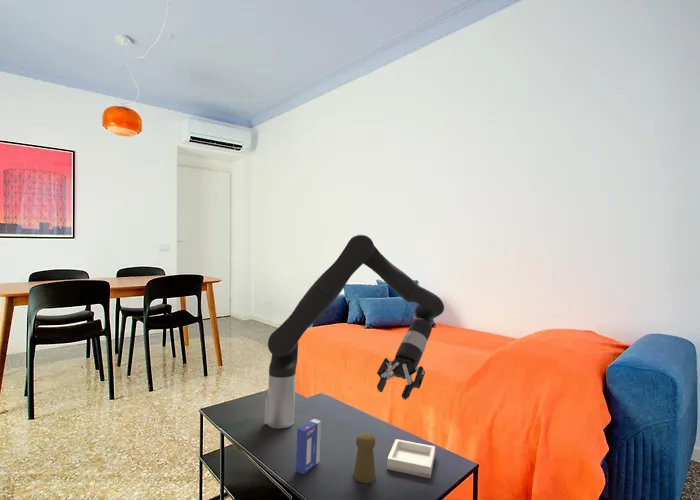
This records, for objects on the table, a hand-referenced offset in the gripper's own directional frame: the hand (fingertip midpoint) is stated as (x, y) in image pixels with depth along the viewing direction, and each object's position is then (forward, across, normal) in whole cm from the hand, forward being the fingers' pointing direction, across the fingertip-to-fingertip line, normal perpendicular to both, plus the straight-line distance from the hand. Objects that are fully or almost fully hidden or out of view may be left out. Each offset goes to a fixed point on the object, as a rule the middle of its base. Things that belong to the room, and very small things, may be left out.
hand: (391, 394), depth 112 cm
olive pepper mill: (+22, 0, +5) cm, 22 cm away
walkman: (+27, -14, 0) cm, 31 cm away
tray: (+12, +6, +15) cm, 20 cm away
